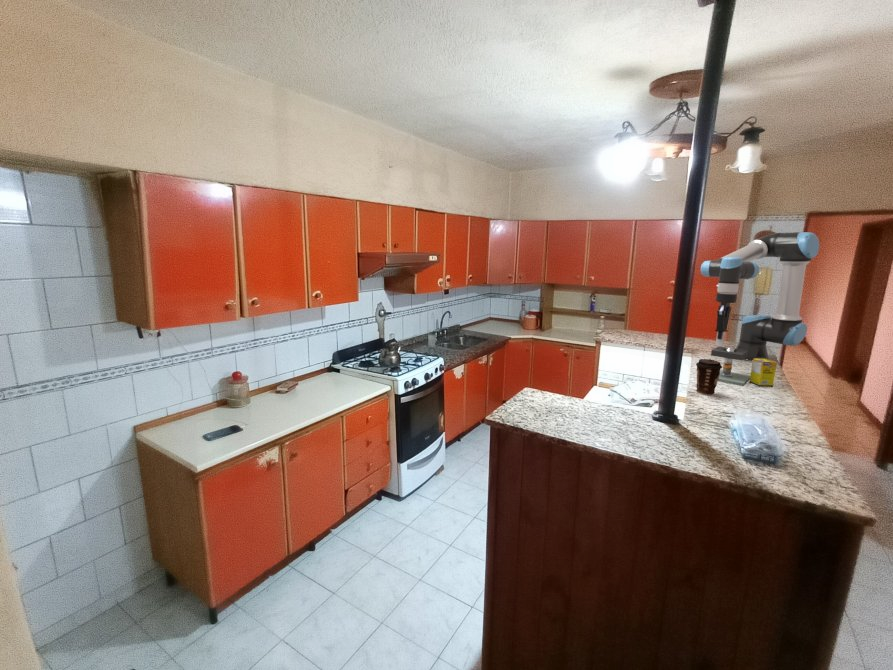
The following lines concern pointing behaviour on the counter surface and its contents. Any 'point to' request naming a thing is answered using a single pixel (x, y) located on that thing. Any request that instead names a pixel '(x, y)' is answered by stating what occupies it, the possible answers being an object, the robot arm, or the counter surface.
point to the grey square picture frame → (729, 353)
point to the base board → (734, 379)
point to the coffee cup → (707, 376)
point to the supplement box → (763, 372)
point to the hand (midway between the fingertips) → (719, 345)
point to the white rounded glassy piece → (727, 364)
